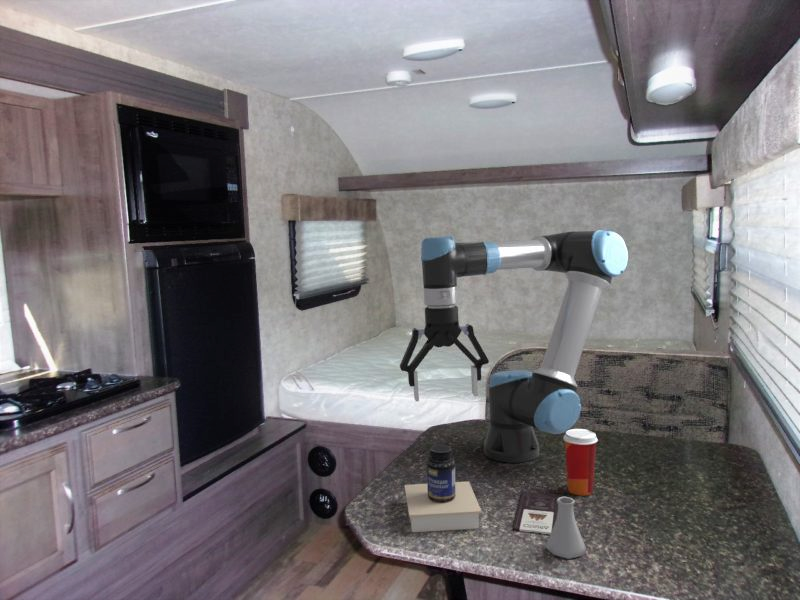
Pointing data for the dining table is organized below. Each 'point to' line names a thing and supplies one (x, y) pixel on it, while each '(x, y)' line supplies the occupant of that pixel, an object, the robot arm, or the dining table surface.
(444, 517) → the podium
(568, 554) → the flask
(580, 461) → the paper cup
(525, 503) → the chocolate bar
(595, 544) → the dining table surface
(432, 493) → the pill bottle
